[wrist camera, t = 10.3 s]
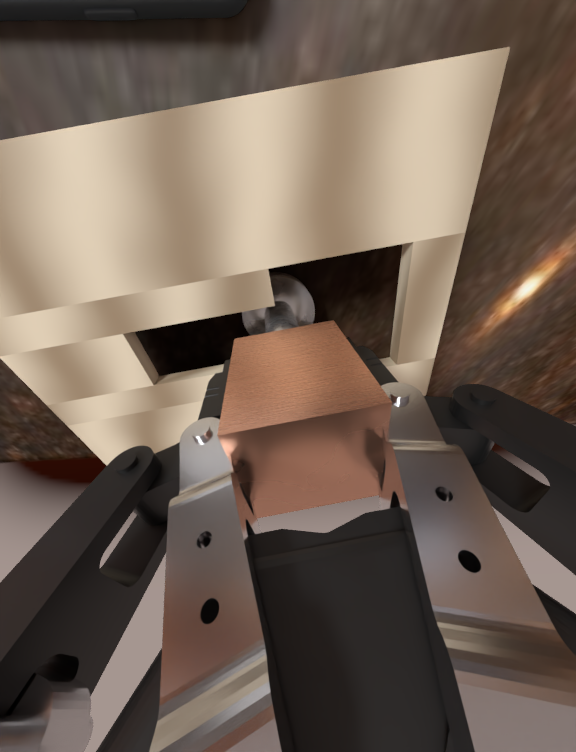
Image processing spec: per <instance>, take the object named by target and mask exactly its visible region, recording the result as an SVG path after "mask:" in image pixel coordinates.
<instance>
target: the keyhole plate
mask: <svg viewBox="0 0 576 752" xmlns="http://www.w3.org/2000/svg"><path fill="white" fill-rule="evenodd" d="M509 50H510V47H506V48H501V49H495V50H490V51H484V52H479V53H473V54H468V55H463V56H457V57H452V58H446V59H441V60H435V61H430V62H424V63H419V64H414V65H408V66H403V67H397V68H392V69H386V70H381V71H375V72H370V73H365V74H359V75H354V76H348V77H343V78H337V79H332V80H327V81H321V82H316V83H310V84H305V85H299V86H294V87H288V88H283V89H278V90H272V91H267V92H261V93H256V94H250V95H245V96H240V97H234V98H229V99H223V100H218V101H212V102H207V103H201V104H196V105H191V106H185V107H180V108H174V109H169V110H163V111H158V112H152V113H147V114H142V115H136V116H131V117H125V118H120V119H114V120H109V121H104V122H98V123H93V124H87V125H82V126H76V127H71V128H65V129H60V130H55V131H49V132H44V133H38V134H33V135H27V136H22V137H16V138H11V139H6V140H0V358H1V359H2V360H3V361H4V362H5V363H6V364H7V365H8V366H9V367H10V368H11V369H12V370H13V371H14V372H15V373H16V374H17V375H18V376H19V378H20V379H21V380H22V381H23V382H24V383H25V384H26V385H27V386H28V387H29V388H30V389H31V390H32V391H33V392H34V393H35V394H36V395H37V396H38V397H39V398H40V399H41V400H42V401H43V402H44V403H45V404H46V405H47V406H48V407H49V408H50V409H51V410H52V411H53V412H54V413H55V414H56V415H57V416H58V417H59V418H60V419H61V420H62V421H63V422H64V423H65V424H66V425H67V426H68V427H69V428H70V429H71V430H72V431H73V432H74V433H75V434H76V435H77V436H78V437H79V438H80V439H81V440H82V441H83V442H84V443H85V444H86V445H87V446H88V447H89V448H90V449H91V450H92V451H93V452H94V453H95V454H96V455H97V456H98V457H99V458H100V459H101V460H102V461H103V462H104V463H105V464H106V465H108V464H109V463H110V462H111V461H112V460H113V459H114V458H115V457H116V456H118V455H119V454H121V453H122V452H124V451H126V450H128V449H130V448H132V447H136V446H148V447H150V448H151V449H152V450H153V452H154V453H157V452H159V451H162V450H164V449H166V448H169V447H171V446H173V445H175V444H177V443H179V442H180V437H181V435H182V433H183V432H184V430H185V429H186V428H187V427H188V426H190V425H191V424H192V423H194V422H196V421H198V417H199V414H200V410H201V407H202V403H203V400H204V398H205V393H206V391H207V386H208V382H209V380H210V379H211V378H212V377H213V376H214V375H215V373H220V372H223V367H224V364H222V365H217V366H211V367H206V368H200V369H195V370H190V371H184V372H179V373H173V374H168V375H163V376H159V374H158V373H157V371H156V369H155V367H154V366H153V364H152V362H151V360H150V358H149V357H148V355H147V353H146V351H145V350H144V348H143V346H142V344H141V343H140V341H139V339H138V337H137V336H136V334H135V332H136V331H141V330H147V329H152V328H158V327H163V326H168V325H174V324H179V323H185V322H190V321H195V320H201V319H206V318H212V317H217V316H223V315H228V314H233V313H239V312H244V311H250V310H255V309H260V308H266V307H271V306H275V303H274V297H273V292H272V287H271V281H270V276H269V270H268V269H269V268H275V267H280V266H286V265H291V264H297V263H302V262H307V261H313V260H318V259H324V258H329V257H335V256H340V255H345V254H351V253H356V252H362V251H367V250H372V249H378V248H383V247H389V246H394V245H400V244H402V253H401V261H400V270H399V279H398V288H397V297H396V306H395V314H394V323H393V332H392V341H391V350H390V357H388V358H383V359H380V361H381V362H382V364H384V365H385V367H386V368H387V369H388V370H389V371H390V373H391V374H392V375H393V376H394V377H395V378H396V380H397V381H398V382H399V383H405V384H409V385H411V386H414V387H415V388H417V389H418V390H420V391H421V393H422V394H423V396H426V393H427V389H428V385H429V381H430V377H431V372H432V368H433V364H434V360H435V356H436V352H437V348H438V343H439V339H440V335H441V331H442V327H443V323H444V319H445V314H446V310H447V306H448V302H449V298H450V294H451V290H452V286H453V281H454V277H455V273H456V269H457V265H458V261H459V257H460V252H461V248H462V244H463V240H464V236H465V232H466V228H467V223H468V219H469V215H470V211H471V207H472V203H473V199H474V195H475V190H476V186H477V182H478V178H479V174H480V170H481V166H482V161H483V157H484V153H485V149H486V145H487V141H488V137H489V133H490V128H491V124H492V120H493V116H494V112H495V108H496V104H497V99H498V95H499V91H500V87H501V83H502V79H503V75H504V70H505V66H506V62H507V58H508V54H509Z"/></svg>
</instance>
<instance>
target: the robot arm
mask: <svg viewBox="0 0 576 752" xmlns="http://www.w3.org/2000/svg"><path fill="white" fill-rule="evenodd" d="M346 339H347V340H348V341H349V343H350V344H351V346H352V347H353V348H354V350H355V351H356V352H357V354H358V355H359V357H360V358H361V359H362V361H363V362H364V364H365V365H366V366H367V368H368V369H369V371H370V372H371V373H372V375H373V376H374V378H375V379H376V380H377V382H378V383H379V385H380V386H381V387H382V389H383V390H384V392H385V393H386V394H387V396H388V397H389V399H390V400H391V401H392V408H391V415H390V423H389V425H386V426H383V429H382V443H383V448H384V454H385V460H384V468H383V471H382V472H378V474H377V486H378V492H379V500H380V510H379V511H374V512H369V513H365V514H363V515H361V516H359V517H357V518H355V519H353V520H351V521H350V522H348V523H346V524H344V525H342V526H340V527H338V528H336V529H334V530H333V531H330V532H328V533H315V532H306V531H296V530H287V529H280V530H274V531H269V532H264V533H262V532H261V529H260V527H259V523H258V520H257V516H256V513H255V509H254V505H253V503H252V500H251V498H250V497H247V496H246V494H245V492H244V490H243V488H242V486H241V484H240V482H239V480H238V476H237V471H236V467H235V465H234V462H233V460H232V458H231V456H230V455H229V456H227V455H226V453H225V451H224V449H223V447H222V445H221V442H220V440H219V438H218V436H217V434H218V428H219V422H220V417H221V411H222V406H223V400H224V394H225V389H226V383H227V377H228V372H229V366H230V361H231V359H229V360H225V363H224V367H223V372H220V373H215V375H214V376H213V377H212V378H211V379H210V380H209V382H208V386H207V391H206V393H205V398H204V400H203V403H202V407H201V410H200V414H199V417H198V421H196V422H194V423H192V424H191V425H190V426H188V427H187V428H186V429H185V430H184V432H183V433H182V435H181V437H180V442H179V443H177V444H175V445H173V446H171V447H169V448H166V449H164V450H162V451H159V452H157V453H154V452H153V450H152V449H151V448H150V447H148V446H136V447H132V448H130V449H128V450H126V451H124V452H122V453H121V454H119V455H118V456H116V457H115V458H114V459H113V460H112V461H111V462H110V463H109V464H108V465H107V466H106V468H105V469H104V470H103V471H102V472H101V473H100V474H99V475H98V476H97V477H96V479H94V481H93V482H92V483H91V484H90V485H89V486H88V487H87V488H86V489H85V490H84V492H83V493H82V494H81V495H80V496H79V497H78V498H77V499H76V500H75V502H74V503H73V504H72V505H71V506H70V507H69V508H68V509H67V510H66V511H65V512H64V513H63V515H62V516H61V517H60V518H59V519H58V520H57V521H56V522H55V523H54V525H53V526H52V527H51V528H50V529H49V530H48V531H47V532H46V533H45V534H44V535H43V537H42V538H41V539H40V540H39V541H38V542H37V543H36V544H35V545H34V547H33V548H32V549H31V550H30V551H29V552H28V553H27V554H26V555H25V556H24V557H23V558H22V560H21V561H20V562H19V563H18V564H17V565H16V566H15V567H14V568H13V570H12V571H11V572H10V573H9V574H8V575H7V576H6V577H5V578H4V579H3V580H2V582H1V583H0V752H84V750H85V748H86V746H87V745H88V742H89V740H90V737H91V734H92V729H93V719H92V717H91V716H90V710H91V699H90V696H91V694H92V692H93V691H94V689H95V686H96V685H97V683H98V681H99V679H100V677H101V675H102V673H103V671H104V670H105V668H106V666H107V664H108V662H109V660H110V658H111V656H112V654H113V652H114V651H115V649H116V647H117V645H118V643H119V641H120V639H121V637H122V635H123V633H124V631H125V630H126V628H127V625H128V624H129V622H130V620H131V618H132V616H133V614H134V612H135V610H136V608H137V607H138V605H139V603H140V601H141V599H142V597H143V595H144V593H145V591H146V590H147V588H148V586H149V584H150V582H151V580H152V578H153V576H154V574H155V572H156V570H157V568H158V567H159V565H160V563H161V561H162V559H163V557H164V555H165V553H166V570H165V593H164V617H163V639H162V649H161V650H160V652H159V653H158V655H157V657H156V658H155V660H154V662H153V663H152V665H151V666H150V668H149V669H148V671H147V672H146V674H145V676H144V677H143V679H142V681H141V682H140V683H139V685H138V687H137V688H136V690H135V691H134V693H133V694H132V696H131V698H130V699H129V701H128V702H127V704H126V706H125V707H124V709H123V710H122V712H121V713H120V715H119V716H118V718H117V720H116V721H115V723H114V724H113V726H112V728H111V729H110V731H109V732H108V734H107V735H106V737H105V739H104V740H103V742H102V743H101V745H100V747H99V748H98V750H97V751H96V752H576V614H575V613H574V612H572V611H570V610H569V609H568V608H566V607H565V606H563V605H562V604H560V603H559V602H558V601H556V600H555V599H553V598H552V597H550V596H549V595H547V594H546V593H544V592H543V591H542V590H540V589H539V588H537V587H536V586H534V585H533V584H532V583H531V581H530V579H529V577H528V575H527V574H526V572H525V570H524V568H523V566H522V564H521V562H520V560H519V558H518V556H517V554H516V552H515V550H514V548H513V546H512V544H511V543H510V541H509V539H508V537H507V535H506V533H505V531H504V529H503V527H502V525H501V523H500V521H499V519H498V517H497V515H496V514H495V512H494V510H493V508H492V506H493V507H494V508H495V509H496V510H497V511H499V512H500V513H501V514H502V515H503V516H505V517H506V518H507V519H508V520H509V521H511V522H512V523H513V524H514V525H515V526H517V527H518V528H519V529H520V530H522V531H523V532H524V533H525V534H526V535H528V536H529V537H530V538H531V539H533V540H534V541H535V542H536V543H537V544H539V545H540V546H541V547H542V548H543V549H545V550H546V551H547V552H548V553H549V554H551V555H552V556H553V557H554V558H555V559H557V560H558V561H559V562H560V563H561V564H563V565H564V566H565V567H566V568H568V569H569V570H570V571H571V572H572V573H574V574H575V575H576V426H574V425H571V424H569V423H567V422H565V421H563V420H561V419H559V418H556V417H554V416H552V415H550V414H548V413H546V412H544V411H542V410H539V409H537V408H535V407H533V406H531V405H529V404H527V403H524V402H522V401H520V400H518V399H516V398H514V397H512V396H510V395H507V394H505V393H503V392H501V391H499V390H497V389H494V388H491V387H488V386H484V385H479V384H466V385H461V386H459V387H457V388H456V389H455V390H454V392H453V396H452V397H430V396H423V394H422V393H421V391H420V390H418V389H417V388H415V387H414V386H411V385H409V384H405V383H399V382H398V381H397V380H396V378H395V377H394V376H393V375H392V374H391V373H390V371H389V370H388V369H387V368H386V367H385V365H384V364H382V362H381V361H380V359H379V358H378V357H377V356H376V355H375V353H374V352H373V351H372V350H370V349H368V348H366V347H364V346H359V347H356V346H355V344H354V343H353V342H352V340H351V339H350V338H349V337H347V338H346ZM494 443H496V444H498V445H500V446H501V447H503V448H504V449H506V450H507V451H509V452H511V453H512V454H514V455H515V456H517V457H519V458H520V459H522V460H523V461H525V462H526V463H528V464H529V465H531V466H533V467H534V468H536V469H537V470H539V471H540V472H541V473H543V474H544V476H546V478H547V479H548V481H549V483H550V486H547V485H545V484H543V483H541V482H539V481H538V480H536V479H535V478H533V477H532V476H530V475H528V474H527V473H525V472H524V471H522V470H521V469H519V468H518V467H516V466H515V465H513V464H512V463H510V462H509V461H507V460H506V459H504V458H503V457H501V456H500V455H498V454H497V453H495V452H494V451H492V450H491V449H492V447H493V445H494ZM132 511H133V512H134V513H136V514H137V516H136V518H135V519H134V521H133V522H132V524H131V525H130V527H129V528H128V529H127V531H126V533H125V534H124V535H123V537H122V538H121V540H120V541H119V543H118V544H117V546H116V547H115V549H114V550H113V552H112V553H111V555H110V556H109V558H108V559H107V561H106V562H105V563H104V565H103V566H102V567H101V568H99V565H100V560H101V557H102V555H103V553H104V552H105V550H106V548H107V547H108V546H109V544H110V543H111V541H112V540H113V538H114V537H115V536H116V534H117V533H118V531H119V530H120V529H121V527H122V525H123V524H124V523H125V521H126V520H127V519H128V517H129V516H130V514H131V513H132Z"/></svg>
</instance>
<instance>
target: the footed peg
mask: <svg viewBox="0 0 576 752" xmlns="http://www.w3.org/2000/svg"><path fill="white" fill-rule="evenodd" d="M269 276H270V281H271V287H272V292H273V297H274V303H275V306H271V307H266V308H260V309H255V310H250V311H244V312H242V319H243V323H244V326H245V328H246V330H247V332H248V333H249V334H250V336H247V337H242V338H236V339H234V344H233V349H232V355H231V361H230V366H229V372H228V377H227V383H226V389H225V394H224V400H223V406H222V411H221V417H220V422H219V428H218V434H217V436H218V438H219V440H220V442H221V445H222V447H223V449H224V451H225V453H226V455H227V456H229V455H230V456H231V458H232V460H233V462H234V465H235V467H236V471H237V476H238V480H239V482H240V484H241V486H242V488H243V490H244V492H245V494H246V496H247V497H250V498H251V500H252V503H253V505H254V509H255V513H256V516H257V518H261V517H267V516H272V515H277V514H282V513H287V512H293V511H298V510H303V509H309V508H314V507H319V506H324V505H329V504H335V503H340V502H345V501H351V500H356V499H361V498H366V497H372V496H377V495H379V492H378V486H377V474H378V472H382V471H383V468H384V460H385V454H384V448H383V443H382V429H383V426H386V425H389V423H390V415H391V408H392V401H391V400H390V399H389V397H388V396H387V394H386V393H385V392H384V390H383V389H382V387H381V386H380V385H379V383H378V382H377V380H376V379H375V378H374V376H373V375H372V373H371V372H370V371H369V369H368V368H367V366H366V365H365V364H364V362H363V361H362V359H361V358H360V357H359V355H358V354H357V352H356V351H355V350H354V348H353V347H352V346H351V344H350V343H349V341H348V340H347V339H346V337H345V336H344V334H343V333H342V332H341V330H340V329H339V327H338V326H337V325H336V323H335V322H334V320H332V321H326V322H321V323H316V324H313V321H314V317H315V307H314V302H313V299H312V297H311V295H310V293H309V292H308V290H307V289H306V287H305V286H304V284H303V283H302V282H301V281H300V280H299V279H297V278H296V277H294V276H292V275H290V274H287V273H283V272H271V273H269Z"/></svg>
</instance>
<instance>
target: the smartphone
mask: <svg viewBox="0 0 576 752" xmlns="http://www.w3.org/2000/svg"><path fill="white" fill-rule="evenodd" d="M246 3H247V0H0V21H27V20H93V21H113V20H136V19H177V18H228V17H233V16H235V15H237V14H238V13H239V12H240V11H241V10H242V9H243V8H244V6H245V4H246Z"/></svg>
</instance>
